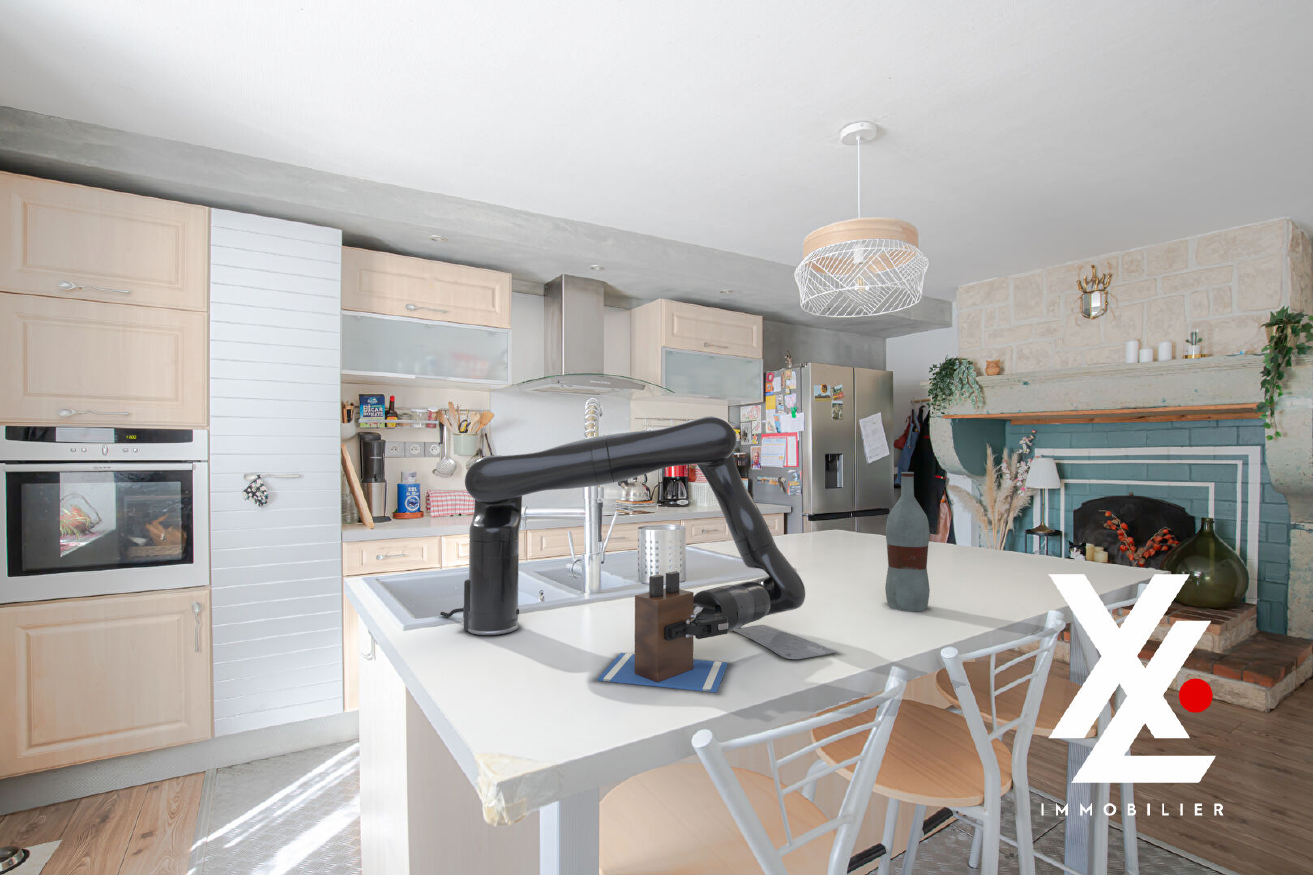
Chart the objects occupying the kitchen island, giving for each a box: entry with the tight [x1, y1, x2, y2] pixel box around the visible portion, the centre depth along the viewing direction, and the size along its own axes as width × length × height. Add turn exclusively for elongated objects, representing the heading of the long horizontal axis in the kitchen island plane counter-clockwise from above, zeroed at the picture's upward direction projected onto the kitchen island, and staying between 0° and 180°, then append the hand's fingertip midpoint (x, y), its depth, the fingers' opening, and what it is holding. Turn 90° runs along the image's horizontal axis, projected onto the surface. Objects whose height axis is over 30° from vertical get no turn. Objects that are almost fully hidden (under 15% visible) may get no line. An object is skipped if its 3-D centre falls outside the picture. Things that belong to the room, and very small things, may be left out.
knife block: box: [634, 571, 695, 683], centre depth 97 cm, size 5×8×15 cm, turn 135°
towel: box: [597, 652, 728, 694], centre depth 98 cm, size 18×12×1 cm, turn 76°
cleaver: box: [732, 624, 837, 660], centre depth 118 cm, size 29×1×10 cm
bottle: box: [884, 471, 931, 612], centre depth 140 cm, size 9×9×30 cm
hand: (652, 629), depth 95 cm, fingers closed on knife block, 5 cm apart
